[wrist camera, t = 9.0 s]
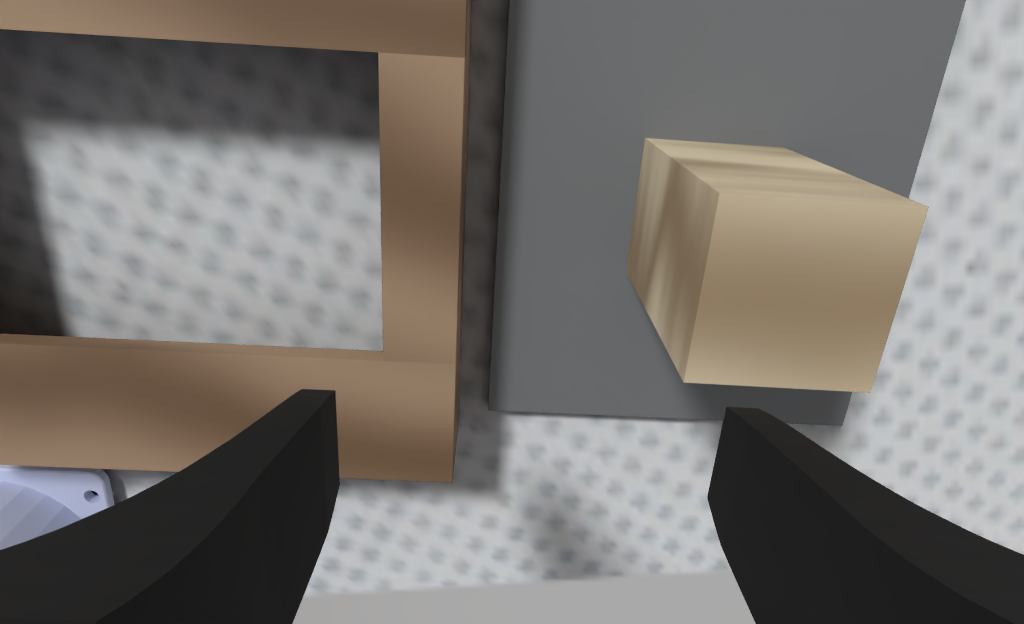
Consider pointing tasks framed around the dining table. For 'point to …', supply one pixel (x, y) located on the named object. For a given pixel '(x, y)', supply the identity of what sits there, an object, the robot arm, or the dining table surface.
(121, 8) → the wooden square frame
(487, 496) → the dining table surface
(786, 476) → the robot arm
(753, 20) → the mat
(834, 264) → the block
